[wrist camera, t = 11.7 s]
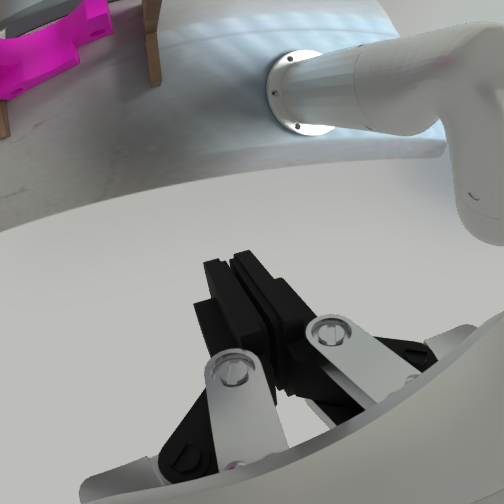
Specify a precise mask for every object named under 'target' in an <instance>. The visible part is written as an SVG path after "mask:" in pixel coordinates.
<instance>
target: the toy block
mask: <svg viewBox="0 0 504 504" xmlns="http://www.w3.org/2000/svg"><path fill="white" fill-rule="evenodd" d="M112 33H113V28H112V23H111V17H110V11H109V7H108V3H107V0H82V2H81V3H80V5H79V6H78V7H77V8H76V9H75V10H74V11H73V12H71V13H70V14H69V15H67V16H66V17H64V18H63V19H61V20H60V21H58V22H56V23H54V24H52V25H50V26H48V27H46V28H44V29H42V30H39V31H37V32H34V33H31V34H28V35H25V36H22V37H17V38H11V39H0V99H1V100H12V99H13V98H15V97H16V96H18V95H20V94H21V93H23V92H25V91H26V90H28V89H30V88H32V87H34V86H35V85H37V84H39V83H41V82H43V81H45V80H47V79H48V78H50V77H52V76H54V75H56V74H59V73H61V72H63V71H65V70H67V69H69V68H71V67H74V66H76V65H78V64H80V60H79V54H78V49H77V47H78V46H81V45H83V44H85V43H88V42H90V41H93V40H96V39H98V38H101V37H104V36H107V35H109V34H112Z"/></svg>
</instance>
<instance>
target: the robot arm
mask: <svg viewBox="0 0 504 504" xmlns="http://www.w3.org/2000/svg"><path fill="white" fill-rule="evenodd" d="M287 59H288V60H289V61H288V60H287ZM266 92H267V99H268V103H269V106H270V108H271V110H272V112H273V114H274V115H275V117H276V118H277V120H278V121H279V122H280V123H281V124H282V125H283V126H285V127H286V128H288V129H289V130H291V131H293V132H295V133H297V134H302V135H307V136H317V135H322V134H325V133H327V132H329V131H331V130H332V129H334V128H335V127H340V128H349V129H358V130H365V131H372V132H379V133H385V134H391V135H397V136H413V135H416V134H420V133H422V132H424V131H425V130H427V129H429V128H430V127H431V126H432V125H433V124H435V123H436V122H437V121H438V120H439V119H441V121H442V124H443V126H444V130H445V134H446V139H447V143H448V145H449V151H450V158H451V165H452V173H453V182H454V190H455V199H456V206H457V210H458V214H459V217H460V219H461V221H462V223H463V225H464V226H465V228H466V229H467V230H468V231H469V232H470V233H471V234H472V235H473V236H474V237H476V238H477V239H479V240H481V241H483V242H485V243H488V244H491V245H496V246H504V25H502V24H499V23H494V22H473V23H465V24H460V25H456V26H452V27H447V28H443V29H439V30H436V31H432V32H427V33H422V34H418V35H413V36H408V37H402V38H396V39H391V40H385V41H379V42H374V43H369V44H364V45H359V46H354V47H349V48H345V49H341V50H337V51H333V52H329V53H325V54H321V53H319V52H316V51H312V50H297V51H293V52H290V53H288V54H285V55H284V56H282V57H281V58H279V59H278V60H277V62H276V63H275V64H274V65H273V67H272V68H271V70H270V72H269V75H268V78H267V85H266ZM272 92H273V93H274V95H272ZM295 125H296V127H295ZM229 262H230V267H229V265H228V264H227V262H226V261H222V262H221V261H220V260H219V258H217V259H214V260H211V261H207V262H204V263H203V264H204V269H205V274H206V278H207V282H208V286H209V291H210V295H211V299H208V300H204V301H201V302H197V303H194V304H193V305H194V308H195V312H196V315H197V318H198V322H199V325H200V328H201V331H202V334H203V337H204V340H205V343H206V346H207V349H208V351H209V354H210V357H211V359H210V360H209V361H208V363H207V365H206V367H205V372H204V373H205V374H204V376H205V384H206V388H205V389H204V391H203V392H202V393H201V395H200V396H199V398H198V399H197V400H196V402H195V403H194V405H193V406H192V408H191V409H190V411H189V412H188V413H187V415H186V416H185V417H184V419H183V420H182V421H181V423H180V424H179V426H178V427H177V428H176V430H175V431H174V432H173V434H172V435H171V437H170V438H169V439H168V441H167V442H166V443H165V445H164V446H163V447H162V449H161V451H160V453H159V454H158V455H156V456H154V457H152V458H148V457H147V456H145V457H143V458H140V459H138V460H136V461H133V462H131V463H128V464H125V465H123V466H120V467H117V468H114V469H112V470H109V471H106V472H103V473H100V474H97V475H94V476H91V477H89V478H87V479H86V480H85V481H84V482H83V483H82V484H81V486H80V490H79V497H80V502H81V504H504V311H503V312H501V313H499V314H497V315H495V316H494V317H492V318H490V319H489V320H487V321H486V322H485V323H484V324H482V325H481V326H480V327H479V328H477V327H475V326H473V325H468V324H465V325H461V326H458V327H456V328H454V329H451V330H449V331H447V332H444V333H442V334H439V335H437V336H434V337H432V338H429V339H426V340H424V343H423V344H422V343H419V342H414V341H405V340H397V339H389V338H381V337H374V336H371V335H370V334H369V333H367V332H366V331H365V330H363V329H362V328H361V327H359V326H358V325H356V324H355V323H354V322H352V321H351V320H350V319H348V318H346V317H344V316H340V315H334V314H329V315H322V316H319V317H317V316H316V315H315V314H314V312H313V311H312V310H311V309H310V308H309V307H308V306H307V305H306V303H305V302H304V301H303V300H302V299H301V298H300V297H299V296H298V295H297V293H296V292H295V291H294V290H293V289H292V288H291V287H290V286H289V284H288V283H287V282H286V281H285V280H284V279H283V278H277V279H274V278H273V277H272V276H271V275H270V274H269V272H268V271H267V270H266V269H265V268H264V266H263V265H262V264H261V263H260V262H259V260H258V259H257V258H256V257H255V256H254V255H253V253H252V252H251V251H250V250H246V251H243V252H239V253H236V254H234V258H233V259H230V260H229ZM230 268H231V269H230ZM275 386H276V387H277V389H278V390H279V391H280V390H282V389H284V390H285V392H286V394H287V396H288V397H289V396H292V395H294V394H295V395H296V396H298V397H302V398H305V401H306V403H307V404H308V406H309V407H310V408H311V409H312V410H313V411H314V412H315V413H316V414H317V415H318V416H319V418H320V419H321V420H322V421H323V422H324V423H325V424H326V425H327V426H328V427H329V428H330V429H331V430H329V431H327V432H325V433H323V434H321V435H318V436H316V437H314V438H312V439H310V440H308V441H306V442H303V443H301V444H299V445H297V446H294V447H292V448H289V447H288V444H287V441H286V438H285V435H284V432H283V429H282V426H281V423H280V420H279V417H278V414H277V411H276V408H275V407H276V405H277V399H276V388H275Z"/></svg>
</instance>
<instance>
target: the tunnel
mask: <svg viewBox="0 0 504 504" xmlns="http://www.w3.org/2000/svg"><path fill="white" fill-rule="evenodd" d="M65 1H68V0H0V31H2V30H4V29H6V28H8V27H9V26H11V25H13V24H15V23H17V22H19V21H21V20H23V19H25V18H27V17H29V16H31V15H34V14H36V13H38V12H40V11H43V10H45V9H47V8H50V7H52V6H55V5H57V4H60V3H63V2H65ZM161 3H162V0H142V14H143V26H144V37H145V47H146V57H147V65H148V73H149V81H150V87H154V86H159V85H161V82H162V75H161V68H160V59H159V51H158V42H157V32H156V31H157V25H158V19H159V13H160V8H161ZM9 136H11V135H10V129H9V122H8V114H7V106H6V100H1V99H0V140H2V139H5V138H7V137H9Z"/></svg>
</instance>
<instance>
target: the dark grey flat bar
mask: <svg viewBox="0 0 504 504" xmlns="http://www.w3.org/2000/svg"><path fill="white" fill-rule="evenodd" d="M113 1H118V0H107V3H109V2H113ZM81 2H82V0H68V1H65V2H63V3H60V4H57V5H55V6H52V7H50V8H47V9H45V10H43V11H40V12H38V13H36V14H34V15H31V16H29V17H27V18H25V19H23V20H21V21H19V22H17V23H15V24H13V25H11V26H9V27H8V28H7V34H6V39H11V38H16V37H18V36H20V35H22V34H24V33H27V32H29V31H31V30H33V29H35V28H37V27H40V26H42V25H44V24H47V23H49V22H52V21H54V20H57V19H59V18H62V17H64V16H67V15H69V14H70V13H71V12H73V11H74V10H75V9H76V8H77V7H78V6H79V5H80V3H81Z"/></svg>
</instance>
